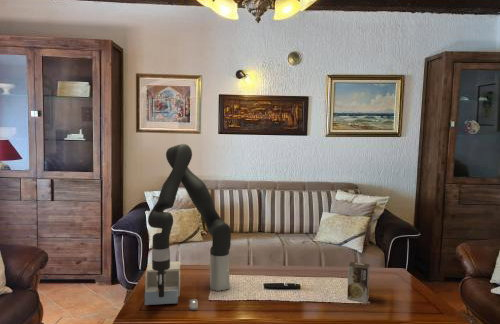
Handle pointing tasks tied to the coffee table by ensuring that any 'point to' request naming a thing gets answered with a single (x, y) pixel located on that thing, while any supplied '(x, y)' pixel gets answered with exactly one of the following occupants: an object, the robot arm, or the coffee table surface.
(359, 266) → the coffee box
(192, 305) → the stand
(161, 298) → the tray
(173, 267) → the beige shelf
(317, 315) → the coffee table surface
